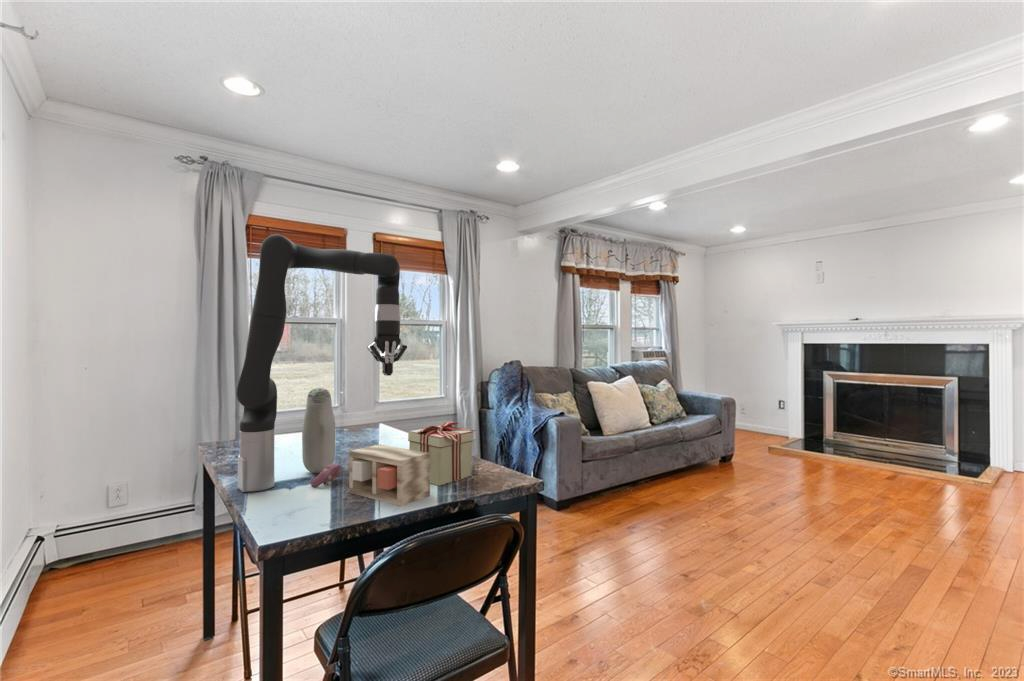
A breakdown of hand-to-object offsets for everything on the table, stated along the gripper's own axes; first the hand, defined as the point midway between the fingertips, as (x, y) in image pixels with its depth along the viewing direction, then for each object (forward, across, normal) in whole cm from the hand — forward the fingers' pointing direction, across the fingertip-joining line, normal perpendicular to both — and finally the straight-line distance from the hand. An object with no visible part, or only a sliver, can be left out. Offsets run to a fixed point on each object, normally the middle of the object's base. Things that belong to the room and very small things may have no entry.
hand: (387, 375), depth 152 cm
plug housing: (+33, +6, +12) cm, 36 cm away
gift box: (+33, -16, +8) cm, 38 cm away
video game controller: (+33, +15, -10) cm, 38 cm away
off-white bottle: (+33, +12, -25) cm, 43 cm away
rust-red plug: (+29, +8, +19) cm, 35 cm away
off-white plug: (+28, +9, +7) cm, 31 cm away
